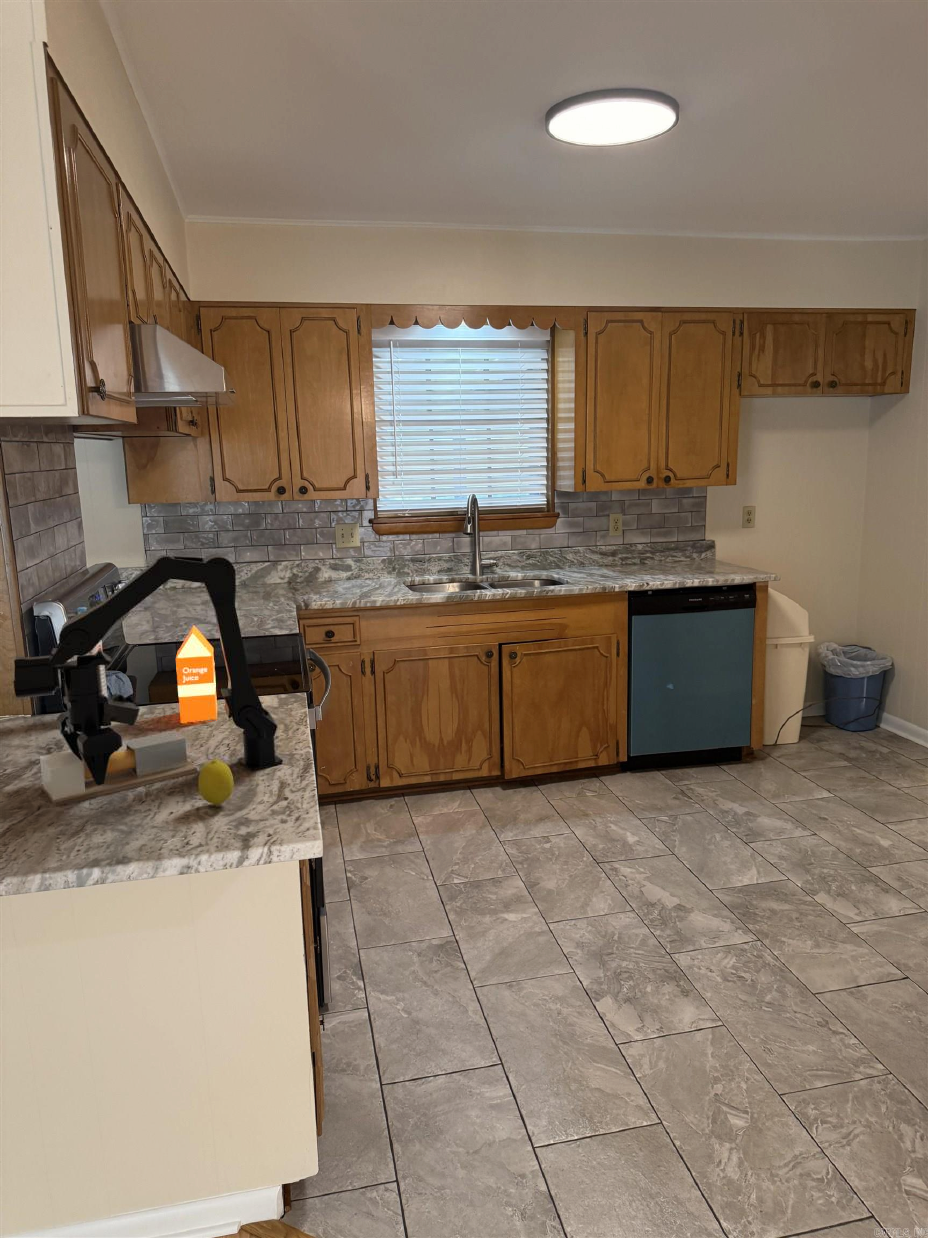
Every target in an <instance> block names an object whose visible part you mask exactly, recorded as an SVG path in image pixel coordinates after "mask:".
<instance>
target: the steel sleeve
mask: <svg viewBox="0 0 928 1238" xmlns="http://www.w3.org/2000/svg"><path fill="white" fill-rule="evenodd" d="M124 743H125V750H128V749H133V750H134V756H135V767H136V768H135V769H130V771H131V772H132V773H133V774H134V775H135V776H136V777H137V778H138V777H142V776H147V775H151V774H155V773H159V772H164V771H168V770H172V769H176V768H180V767H185V766H187V761H188V758H187V757H188V756H187V747H186V745H187V744H186V743H187V742H186V737H185V736H184V735H181V733H179V732H177V731H176V730H169V731H164V732H161V733H160V732H159V733H155V734H152V735H147V736H146V735H145V736H141V737H135V738H132V739H127V740H124Z"/></svg>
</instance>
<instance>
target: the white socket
mask: <svg viewBox="0 0 928 1238" xmlns="http://www.w3.org/2000/svg"><path fill="white" fill-rule="evenodd" d="M39 762H40V764H39V765H40V772H41V773H40V774H41V782H42V784H43V787H44V788H45V789H46V791H47V792H48V793H49V795H50V796H51V797H52V799H53V800H56V799H61V798H65V797H69V796H73V795H77V794H81V793H86V792H85V782H84V773H83V763H82V762H81V760H80V759H79V758H78V757H77V756H76V755H75V754H74V753H73V752H72V751H71V749H70V750H69V749H68V750H63V751H59V752H54V753H50V754H44V755H40V756H39Z"/></svg>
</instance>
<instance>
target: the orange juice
mask: <svg viewBox="0 0 928 1238" xmlns="http://www.w3.org/2000/svg"><path fill="white" fill-rule="evenodd" d="M176 653H177V654H176V656H175V665H176V676H177V677H176V680H177V693H178V694H177V695H178V703H179V706H178V707H179V715H180V724H181V723H183V724H188V723H187V722H194V723H196V722H195V721H204V720H210V719H217V720H218V704H217V703H218V701H217V699H218V698H217V687H216V686H217V684H216V670H215V664H216V663H215V659H214V657H215V656H214V647H213V646H212V645H211V644H210V642H209V641H208V640H207V638H206V637H205V636H204V635H203V634H202V632H201V631H199V629H198V628H197V627H196V626H195V625H193V626H192V628H191V630H190V631H189V633H188V635H187V636H186V638H185V639H184V641H183V642H182V644H181V646H180V648H179V649H178V650H177V652H176Z"/></svg>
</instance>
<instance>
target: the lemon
mask: <svg viewBox="0 0 928 1238" xmlns="http://www.w3.org/2000/svg"><path fill="white" fill-rule="evenodd" d="M234 781H235V780H234V777H233V773H232V771H231V769H230V766H229V765H227V763H224V762H222V761H220V760H217V759H212V760H211V761H210V762H208V763H206V764H205V765H204V766H203V767H202V768H201V770H200V772H199V776H198V784H197V785H198V791H199V794H200V796H201V798H202V799H203V800H204V801H206V802H207V803H210V804H213V806H216V807H219V806H220V805H221V804H222V803H223V802H225V801H227V800H228V799H229V798H231V797H230V796H231V795H232V793H233V789H234V785H235V784H234ZM218 805H219V806H218Z"/></svg>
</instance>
